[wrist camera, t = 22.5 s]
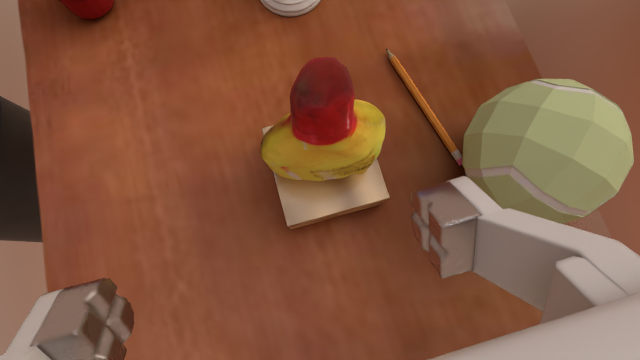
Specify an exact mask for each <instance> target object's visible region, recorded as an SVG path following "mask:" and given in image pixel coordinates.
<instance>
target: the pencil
mask: <svg viewBox="0 0 640 360" xmlns="http://www.w3.org/2000/svg"><path fill="white" fill-rule="evenodd" d="M386 50H387V53H388V56H389V59H390V62H391V63H392V65H393V66H394V68H395V69H396V71H397V72H398V74H399V76H400V77H401V79H402V80H403V82H404V83H405V85H406V86H407V88H408V89H409V91H410V92H411V94H412V95H413V97H414V98H415V100H416V101H417V103H418V104H419V106H420V107H421V109H422V110H423V112H424V113H425V115H426V117H427V118H428V120H429V121H430V123H431V124H432V126H433V127H434V129H435V130H436V132H437V133H438V135H439V136H440V138H441V139H442V141H443V142H444V144H445V145H446V147H447V148H448V150H449V151H450V153H451V155H452V156H453V157H454V159H455V160H456V161H457V163H458V164H459V166H461V165H462V155H461V154H460V152H459V150H458V149H457V148H456V146H455V144H454V143H453V141H452V140H451V138H450V137H449V135H448V134H447V132H446V131H445V129H444V128H443V126H442V125H441V123H440V122H439V120H438V119H437V117H436V116H435V114H434V113H433V111H432V110H431V108H430V107H429V105H428V104H427V102H426V101H425V99H424V98H423V96H422V95H421V93H420V92H419V90H418V89H417V87H416V86H415V84H414V83H413V81H412V80H411V78H410V77H409V75H408V74H407V72H406V71H405V69H404V68H403V66H402V65H401V63H400V62H399V60H398V59H397V57H396V56H395V55H394V54H392V53H391V52H390V51H389V50H388V49H386Z"/></svg>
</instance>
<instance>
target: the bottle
mask: <svg viewBox="0 0 640 360" xmlns="http://www.w3.org/2000/svg"><path fill="white" fill-rule="evenodd" d="M290 103H291V113H289V114H288V115H286V116H284V117H283V118H281V119H280V120H279V121H278V122H277V123H276V124H275V125H273V126H272V127H271V128H270V129H269V130H268V131H267V132H266V134H265V135H264V137H263V139H262V142H261V157H262V159H263V160H264V161H265V162H266V163H267V165H268V166H269V168H271V169H272V170H273V171H274V172H275V173H276V174H278V175H279V176H281V177H284V178H290V179H294V180H312V181H324V180H329V179H341V178H344V177H347V176H349V175H351V174H355V173H357V174H363V173H364V172H365V171H366V170H367V168H368V167H370V166H371V165H372V164H373V162H374V160H375V159H376V158H377V156H378V155H379V153H380V150H381V147H382V143H383V140H384V136H385V117H384V115H383V114H382V113H381V112H380V111H379V109H378V108H377V107H375V106H374V105H372V104H370V103H368V102H365V101H361V100H356V99H355V94H354V89H353V84H352V80H351V77H350V74H349V72H348V70H347V68H346V67H345V66H344V65H343V64H341V63H340V62H339V61H338V60H337V59H336V58H332V57H324V58H315V59H313V60H310V61H309V62H308V63H306V64H305V66H304V67H303V68H302V69H301V71H300V73H299V75H298V77H297V79H296V80H295V82H294V84H293V86H292V89H291V93H290Z"/></svg>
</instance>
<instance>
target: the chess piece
mask: <svg viewBox="0 0 640 360" xmlns="http://www.w3.org/2000/svg"><path fill="white" fill-rule="evenodd" d="M260 1H261V2H262V4H263V5H264V6H265V7H266V8H267V9H269V10H270V11H272V12H273V13H276V14H278V15H282V16H299V15H303V14H305V13H307V12H309V11H311V10H312V9H314V8H315V7H316V6H317V5H318V4H319V2H320V1H321V0H260Z"/></svg>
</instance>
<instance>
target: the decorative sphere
mask: <svg viewBox="0 0 640 360" xmlns="http://www.w3.org/2000/svg"><path fill="white" fill-rule="evenodd" d="M633 163H634V161H633V149H632V138H631V132H630V130H629V127H628V124H627V122H626V119H625V117H624V114H623V112H622V111H621V110H620V107H619V106H618V105H617V104H615V103H614V102H612V101H610V100H609V99H607V98H606V97H604V96H603V95H601V94H600V93H598V92H597V91H595V90H593V89H591V88H589V87H587V86H585V85H583V84H580V83H578V82H576V81H574V80H572V79H534V80H531V81H528V82H524V83H521V84H518V85H515V86H512V87H509V88H507V89H506V90H504V91H502V92H501V93H499V94H498V95H496V96H495V97H493V98H491V99H490V100H488V101H487V102H485V103H484V104H482V105H481V106H479V108H478V110H477V112H476V114H475V116H474V118H473V119H472V121H471V123H470V125H469V127H468V129H467V130H466V132H465V134H464V142H463V157H462V165H463V167H464V168H465V174H466V176H467V177H468V178H469V179H470V180H471V181H473V182H474V183H475V184H476V185H477V186H478V187H479V188H480V189H481V190H482V191H484V192H485V193H486V194H487V195H488V196H489V197H490V198H491V199H492V200H494V201H495V202H496V203H497V204H498V205H499V206H500V207H501V208H502V209H507V208H511V209H514V210H517V211H521V212H524V213H527V214H531V215H534V216H537V217H541V218H544V219H547V220H551V221H554V222H557V223H568V222H571V221H574V220H577V219H580V218H583V217H585V216H586V215H588V214H589V213H590V212H592V211H593V210H595V209H596V208H598V207H599V206H601V205H602V204H604V203H605V202H606V201H608V200H609V199H611V198H612V197H614V196H615V195H616V194H617V193H618V191H619V189H620V187H621V185H622V184H623V182H624V180H625V178H626V176H627V174H628V173H629V171H630V169H631V167H632V164H633Z"/></svg>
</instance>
